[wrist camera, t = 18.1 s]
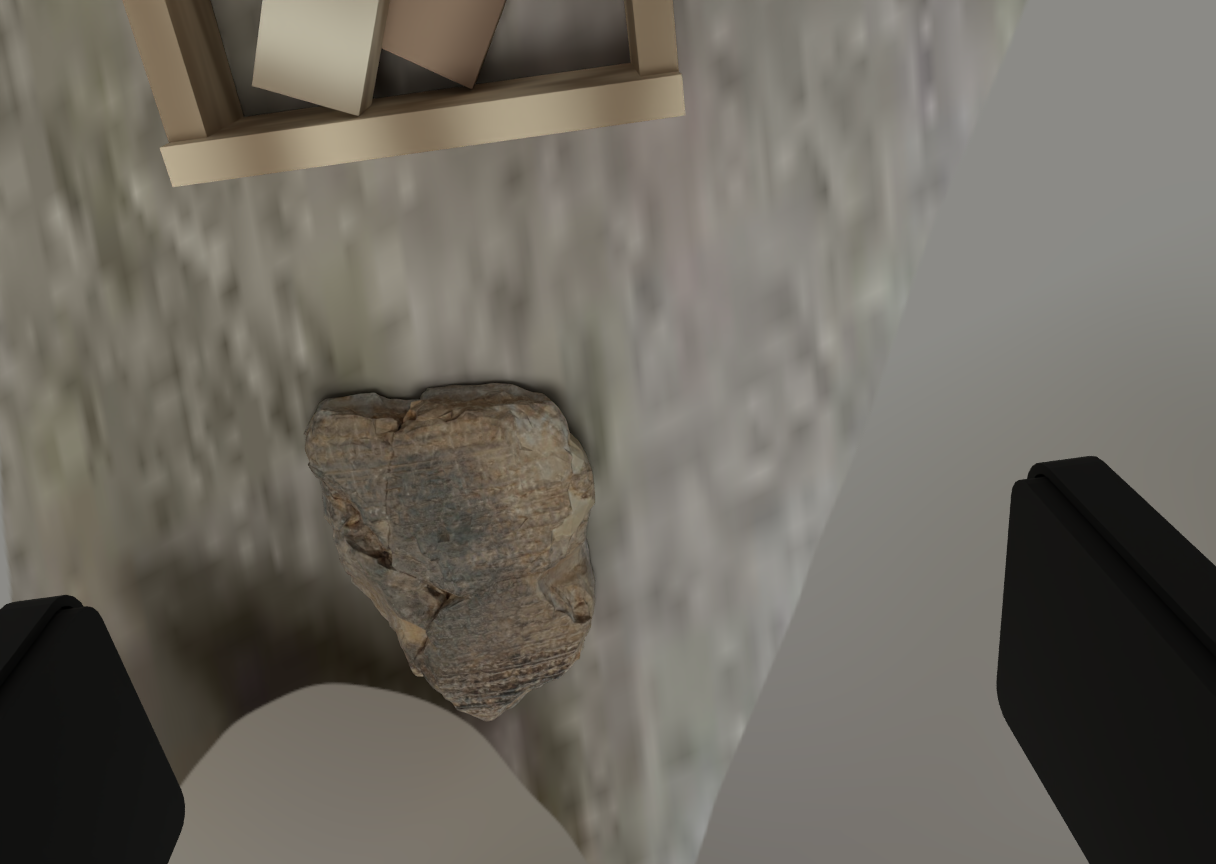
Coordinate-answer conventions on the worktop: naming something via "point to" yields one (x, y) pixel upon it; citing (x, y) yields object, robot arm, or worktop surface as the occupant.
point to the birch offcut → (321, 50)
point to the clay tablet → (464, 532)
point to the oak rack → (382, 101)
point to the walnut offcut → (443, 35)
